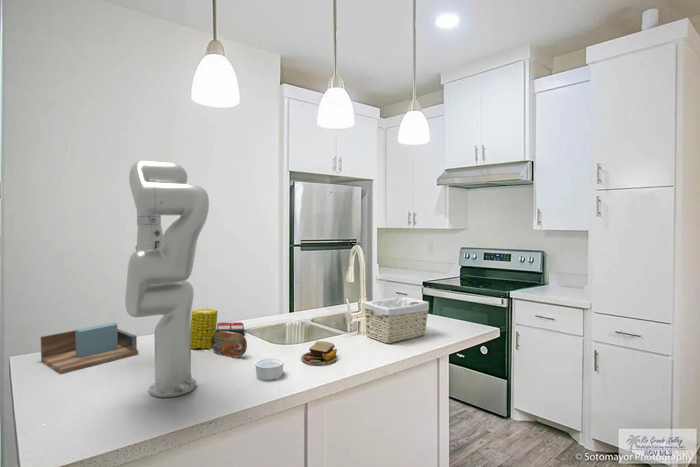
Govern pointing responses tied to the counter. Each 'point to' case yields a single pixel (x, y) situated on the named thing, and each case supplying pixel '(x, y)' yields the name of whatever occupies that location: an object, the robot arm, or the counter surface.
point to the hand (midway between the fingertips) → (150, 271)
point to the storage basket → (396, 319)
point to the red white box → (231, 327)
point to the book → (96, 339)
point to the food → (203, 327)
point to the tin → (229, 344)
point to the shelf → (63, 359)
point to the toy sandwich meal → (320, 354)
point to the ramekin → (269, 368)
